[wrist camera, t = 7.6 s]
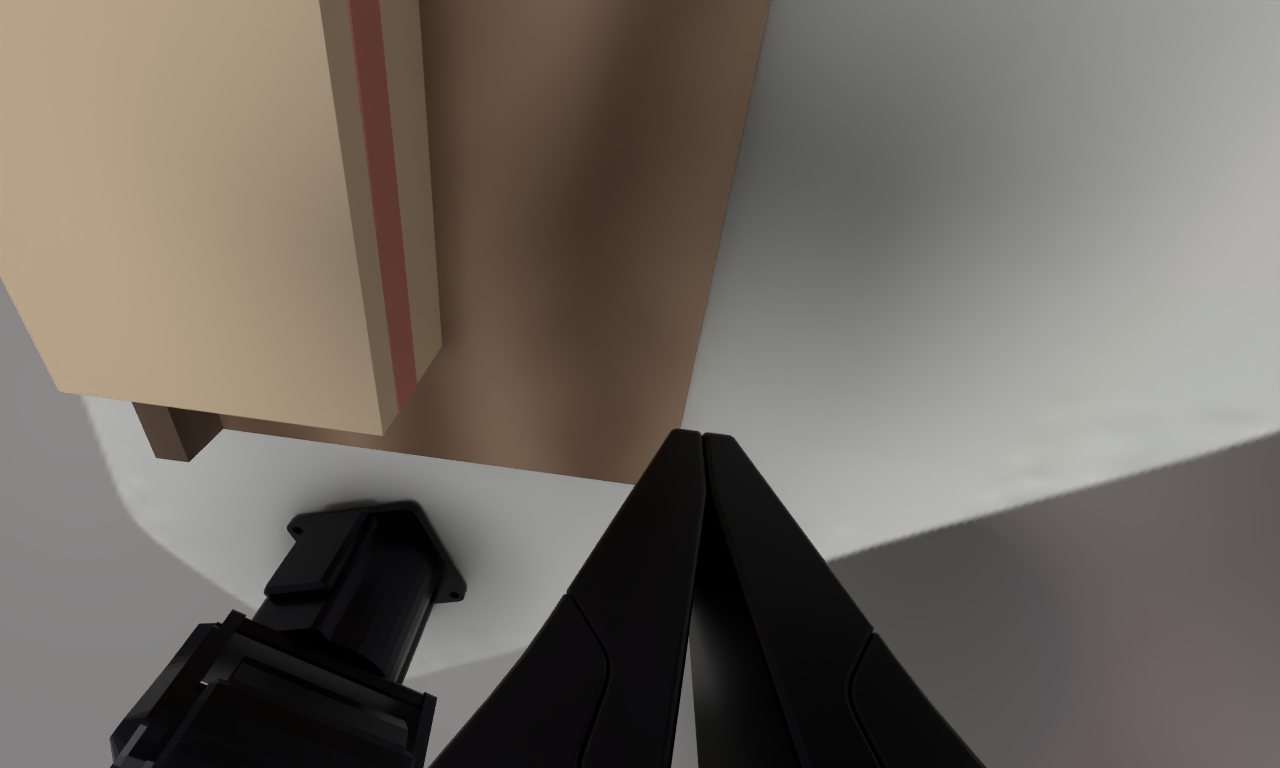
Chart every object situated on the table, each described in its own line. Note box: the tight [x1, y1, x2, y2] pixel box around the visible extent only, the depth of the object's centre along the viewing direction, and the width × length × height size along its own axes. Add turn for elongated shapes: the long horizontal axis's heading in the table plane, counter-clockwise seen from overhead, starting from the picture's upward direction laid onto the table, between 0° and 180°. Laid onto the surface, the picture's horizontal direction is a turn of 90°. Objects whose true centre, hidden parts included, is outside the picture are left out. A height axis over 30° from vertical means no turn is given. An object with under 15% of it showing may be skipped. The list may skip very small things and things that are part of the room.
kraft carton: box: [0, 0, 442, 436], centre depth 15 cm, size 9×12×5 cm
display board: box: [132, 0, 771, 485], centre depth 17 cm, size 19×22×3 cm
